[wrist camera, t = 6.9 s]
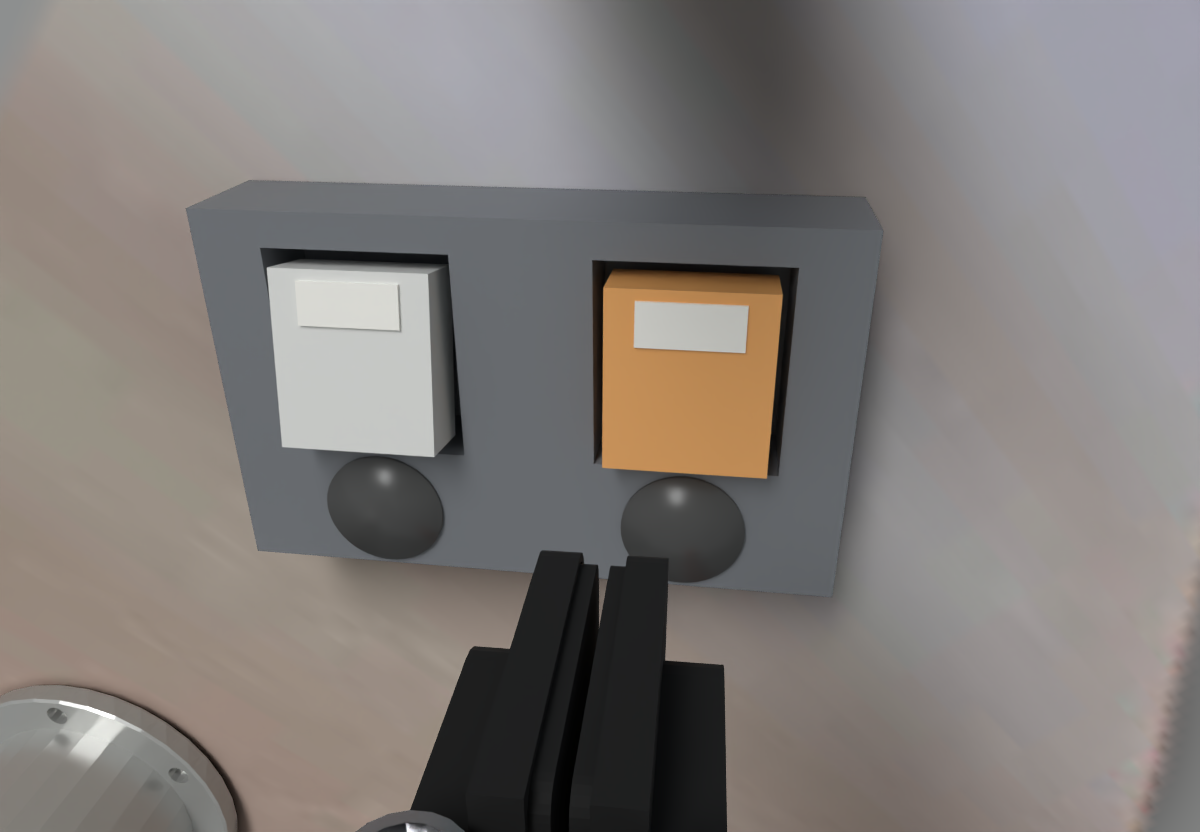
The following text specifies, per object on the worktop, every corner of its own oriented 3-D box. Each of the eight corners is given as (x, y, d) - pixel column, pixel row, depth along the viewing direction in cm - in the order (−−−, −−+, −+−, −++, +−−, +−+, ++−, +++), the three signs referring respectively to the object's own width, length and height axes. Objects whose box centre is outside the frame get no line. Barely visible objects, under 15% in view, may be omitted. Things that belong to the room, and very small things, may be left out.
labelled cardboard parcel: (764, 446, 26) (766, 480, 24) (611, 437, 26) (601, 469, 24) (778, 274, 24) (783, 296, 22) (613, 268, 24) (602, 288, 22)
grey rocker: (455, 434, 27) (433, 458, 25) (313, 426, 27) (280, 448, 25) (450, 264, 25) (426, 274, 23) (300, 258, 26) (265, 268, 24)
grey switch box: (822, 531, 30) (832, 600, 26) (304, 493, 32) (255, 553, 29) (865, 196, 25) (884, 232, 22) (249, 180, 27) (182, 209, 24)
